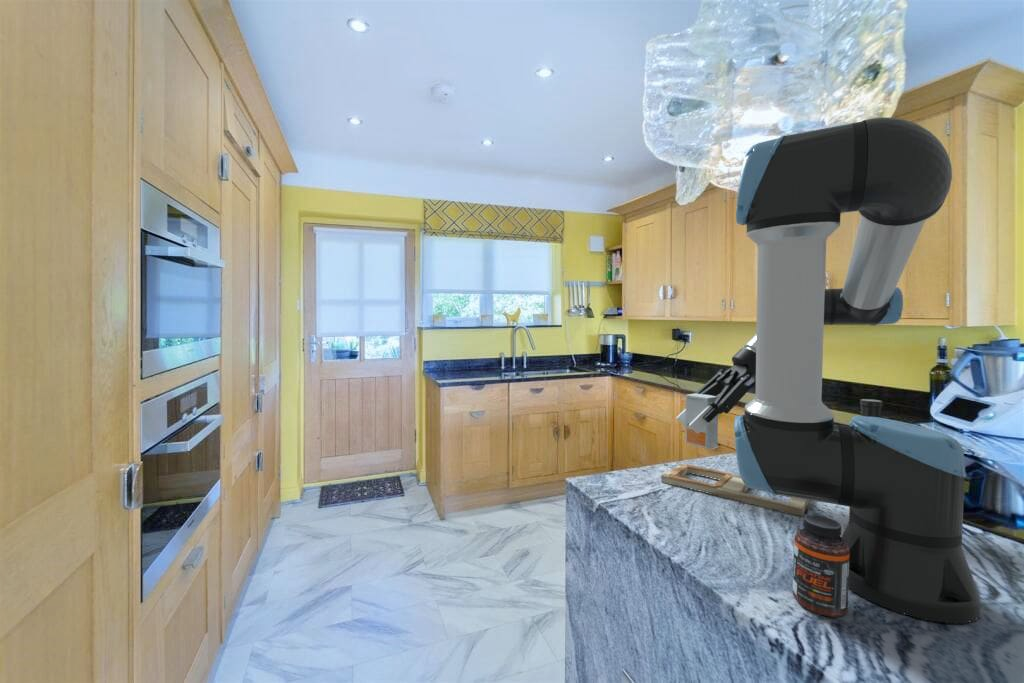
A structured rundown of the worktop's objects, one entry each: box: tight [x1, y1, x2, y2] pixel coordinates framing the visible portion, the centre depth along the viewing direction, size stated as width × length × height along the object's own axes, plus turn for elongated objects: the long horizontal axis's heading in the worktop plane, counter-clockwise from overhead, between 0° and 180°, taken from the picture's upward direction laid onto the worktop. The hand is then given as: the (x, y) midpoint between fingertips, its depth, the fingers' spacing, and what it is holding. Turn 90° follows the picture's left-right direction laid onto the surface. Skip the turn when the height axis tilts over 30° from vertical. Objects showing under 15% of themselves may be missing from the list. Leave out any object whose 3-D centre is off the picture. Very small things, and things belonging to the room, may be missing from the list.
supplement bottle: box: [792, 514, 850, 618], centre depth 56 cm, size 6×6×11 cm
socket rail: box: [660, 463, 811, 517], centre depth 96 cm, size 12×28×2 cm, turn 48°
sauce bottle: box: [859, 398, 884, 418], centre depth 100 cm, size 6×6×20 cm
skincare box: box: [684, 392, 719, 450], centre depth 101 cm, size 6×4×12 cm
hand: (686, 425), depth 101 cm, fingers closed on skincare box, 7 cm apart
